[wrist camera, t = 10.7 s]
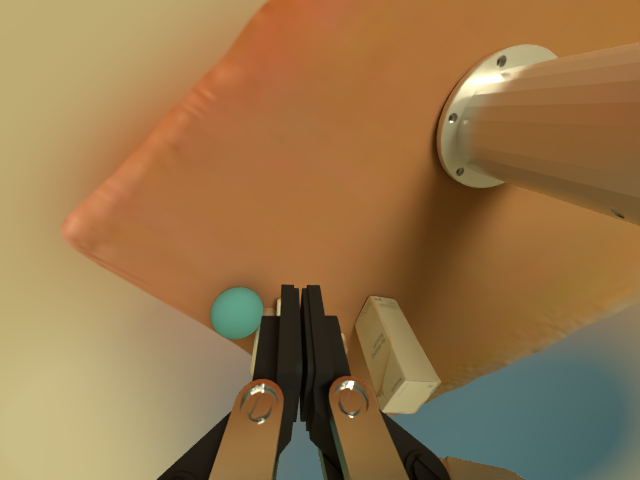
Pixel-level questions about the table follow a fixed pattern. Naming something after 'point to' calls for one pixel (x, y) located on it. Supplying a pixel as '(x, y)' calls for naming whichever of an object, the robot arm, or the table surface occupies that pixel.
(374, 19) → the table surface
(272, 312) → the pin
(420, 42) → the table surface
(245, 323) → the ball
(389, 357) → the skincare box
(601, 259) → the table surface
